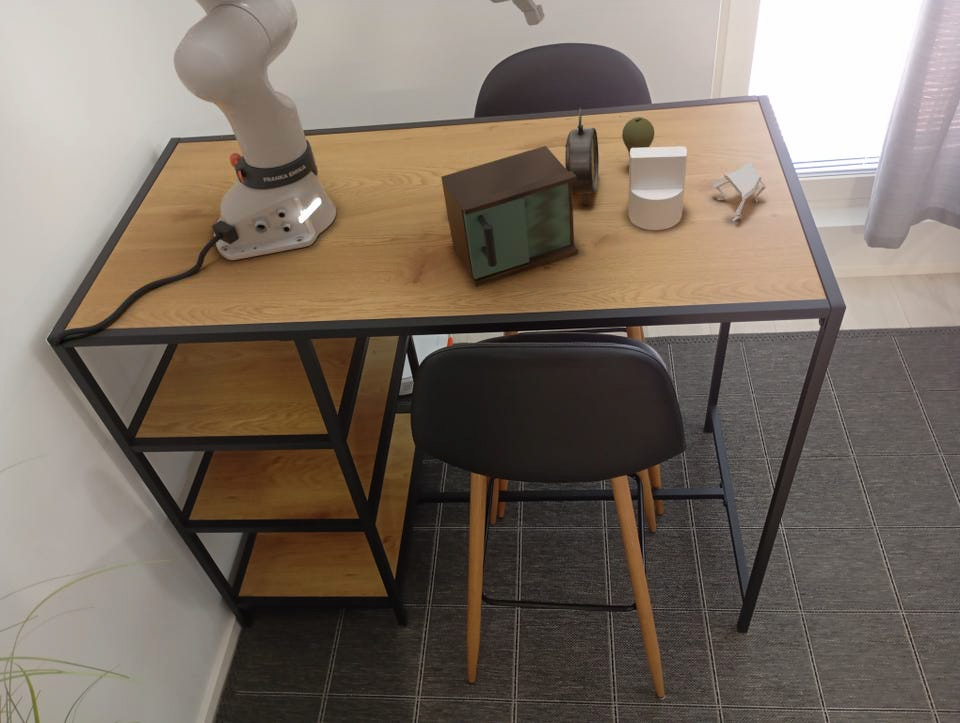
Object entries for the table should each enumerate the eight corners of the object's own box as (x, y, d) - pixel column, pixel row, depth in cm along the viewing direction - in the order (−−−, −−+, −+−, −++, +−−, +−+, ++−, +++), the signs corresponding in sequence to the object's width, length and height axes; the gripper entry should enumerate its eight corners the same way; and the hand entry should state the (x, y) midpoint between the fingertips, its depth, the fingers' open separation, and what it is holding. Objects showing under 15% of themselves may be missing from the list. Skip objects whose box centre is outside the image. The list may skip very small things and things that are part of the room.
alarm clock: (594, 210, 138) (593, 126, 126) (563, 210, 139) (559, 126, 127) (600, 176, 145) (599, 93, 134) (570, 175, 146) (567, 93, 135)
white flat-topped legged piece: (708, 187, 139) (711, 162, 135) (758, 184, 138) (762, 159, 134) (717, 227, 130) (721, 202, 127) (770, 225, 129) (775, 200, 126)
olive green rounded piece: (645, 180, 143) (647, 129, 135) (616, 173, 145) (617, 124, 138) (657, 164, 146) (660, 114, 139) (629, 158, 148) (630, 109, 141)
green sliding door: (483, 294, 123) (474, 230, 115) (473, 276, 127) (463, 212, 118) (539, 276, 125) (534, 211, 116) (527, 259, 128) (522, 194, 120)
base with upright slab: (628, 230, 133) (629, 168, 124) (628, 199, 139) (629, 138, 130) (683, 229, 131) (688, 166, 123) (681, 198, 137) (686, 136, 129)
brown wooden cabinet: (476, 287, 127) (464, 210, 116) (453, 247, 135) (440, 172, 124) (578, 254, 130) (576, 176, 119) (550, 217, 138) (545, 141, 127)
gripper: (542, -139, 99) (575, -27, 107) (449, -72, 88) (493, 46, 96) (584, -153, 94) (615, -36, 103) (492, -85, 84) (535, 39, 92)
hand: (556, 5), depth 99 cm, fingers open, 8 cm apart
